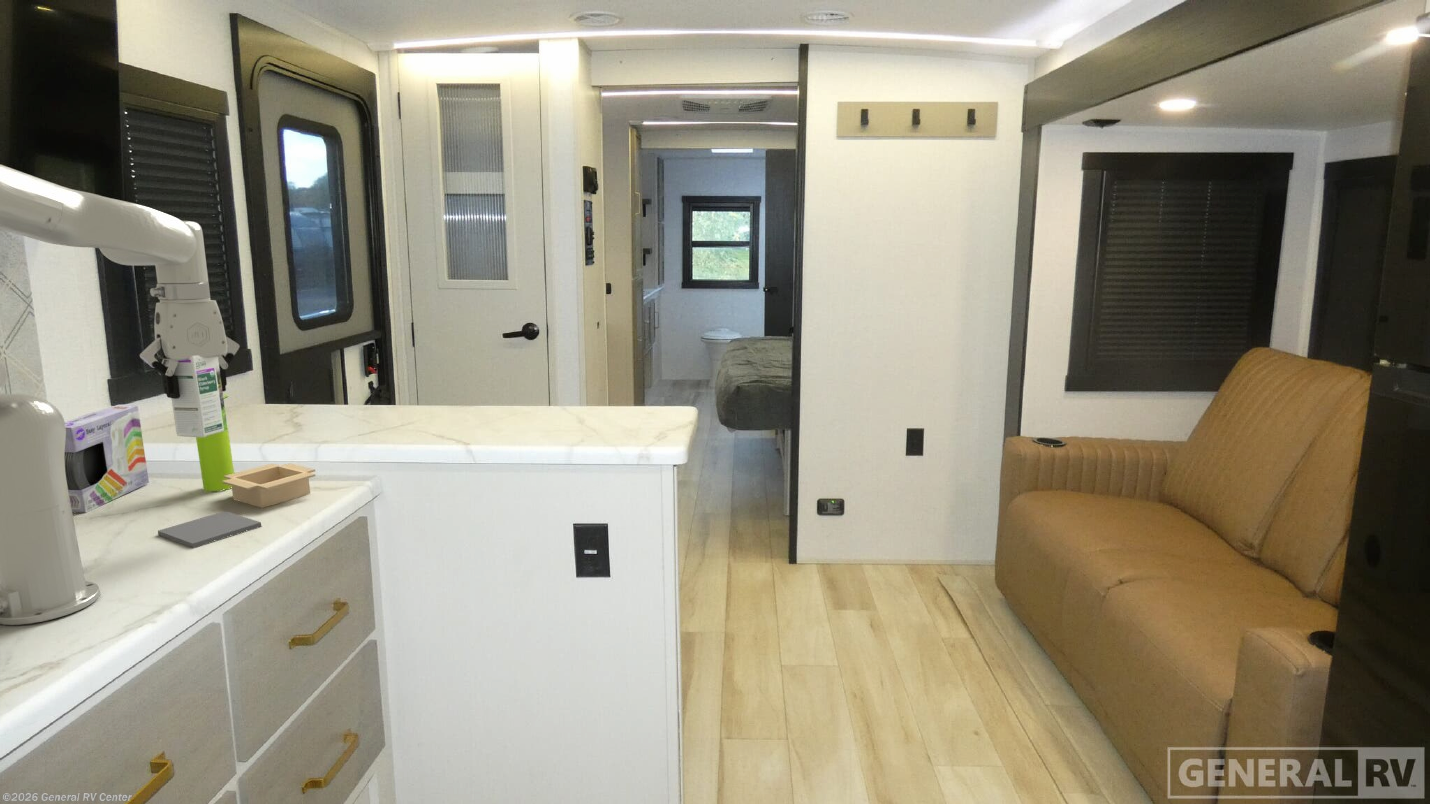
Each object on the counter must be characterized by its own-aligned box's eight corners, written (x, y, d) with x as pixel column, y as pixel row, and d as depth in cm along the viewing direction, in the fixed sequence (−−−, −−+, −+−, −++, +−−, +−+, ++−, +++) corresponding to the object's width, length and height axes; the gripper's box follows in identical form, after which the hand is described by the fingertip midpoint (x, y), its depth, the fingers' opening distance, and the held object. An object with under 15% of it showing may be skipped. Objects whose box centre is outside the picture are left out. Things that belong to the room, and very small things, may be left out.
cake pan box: (83, 515, 163) (67, 426, 160) (58, 515, 164) (41, 426, 160) (152, 484, 182) (139, 403, 178) (130, 484, 182) (116, 403, 179)
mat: (193, 547, 146) (192, 543, 146) (158, 534, 153) (157, 530, 152) (261, 526, 156) (260, 522, 156) (225, 515, 162) (225, 511, 162)
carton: (259, 513, 163) (256, 490, 162) (216, 500, 171) (213, 478, 170) (326, 492, 175) (324, 471, 174) (283, 481, 183) (281, 461, 182)
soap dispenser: (230, 491, 176) (217, 397, 172) (197, 492, 176) (183, 397, 172) (246, 483, 182) (233, 391, 178) (214, 483, 182) (201, 391, 178)
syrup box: (203, 437, 149) (193, 355, 146) (174, 436, 150) (164, 354, 147) (228, 430, 154) (219, 351, 152) (200, 429, 155) (190, 350, 153)
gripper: (140, 297, 138) (154, 404, 142) (246, 291, 153) (257, 388, 156) (118, 295, 142) (132, 400, 145) (223, 290, 157) (234, 385, 160)
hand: (197, 393), depth 151 cm, fingers closed on syrup box, 7 cm apart
